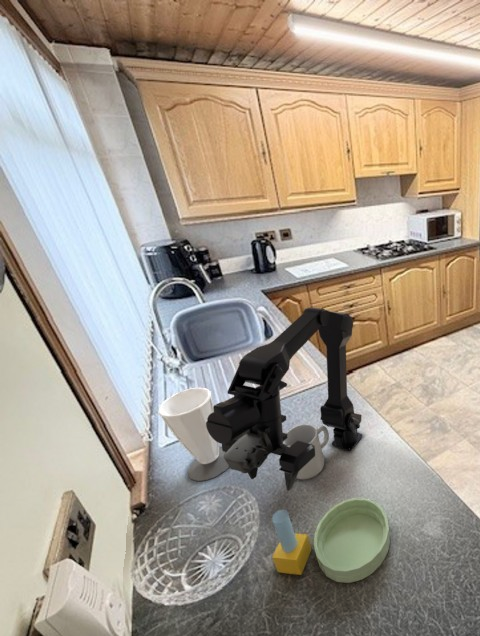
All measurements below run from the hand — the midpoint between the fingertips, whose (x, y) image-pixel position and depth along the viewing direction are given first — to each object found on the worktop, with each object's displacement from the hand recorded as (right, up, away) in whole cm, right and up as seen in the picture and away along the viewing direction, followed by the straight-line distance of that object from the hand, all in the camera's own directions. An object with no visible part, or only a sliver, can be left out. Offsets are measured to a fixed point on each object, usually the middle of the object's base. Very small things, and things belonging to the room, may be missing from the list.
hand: (271, 483), depth 72 cm
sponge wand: (+5, -16, 0) cm, 16 cm away
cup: (-27, -6, +23) cm, 36 cm away
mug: (+2, -5, +22) cm, 23 cm away
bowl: (+17, -14, +2) cm, 22 cm away
